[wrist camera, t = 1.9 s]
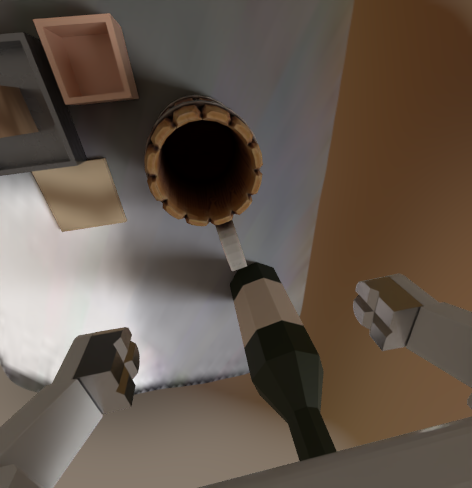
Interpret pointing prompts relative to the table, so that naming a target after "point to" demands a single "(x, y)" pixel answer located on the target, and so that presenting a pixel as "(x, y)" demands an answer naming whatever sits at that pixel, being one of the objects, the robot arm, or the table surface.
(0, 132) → the walnut block
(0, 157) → the tin
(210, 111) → the mug
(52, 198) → the light wooden board
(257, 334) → the wine bottle
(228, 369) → the table surface
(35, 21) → the terracotta pot
